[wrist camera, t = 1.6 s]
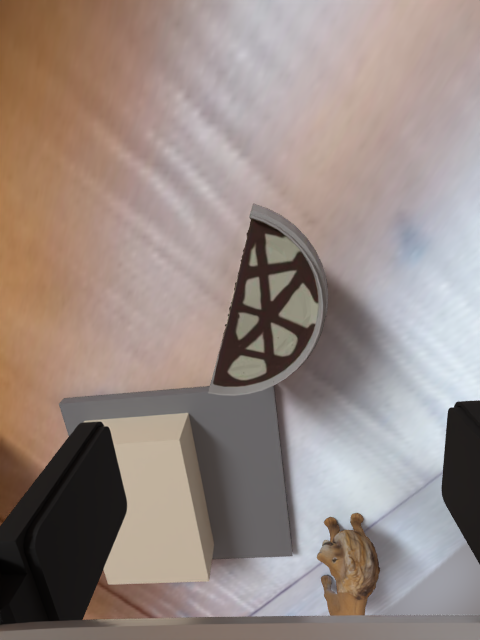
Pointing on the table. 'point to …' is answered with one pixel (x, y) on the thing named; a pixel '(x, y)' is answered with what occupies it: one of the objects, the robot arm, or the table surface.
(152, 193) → the table surface
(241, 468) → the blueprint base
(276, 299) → the food container
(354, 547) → the lion figurine
